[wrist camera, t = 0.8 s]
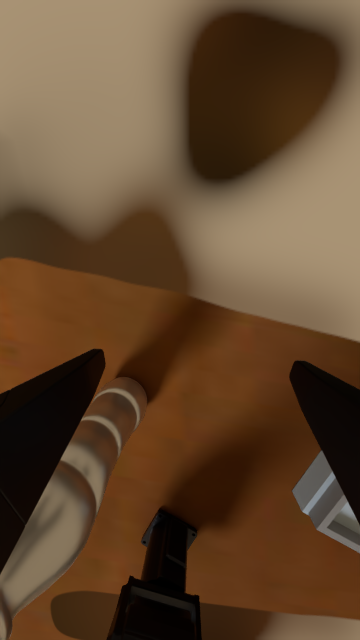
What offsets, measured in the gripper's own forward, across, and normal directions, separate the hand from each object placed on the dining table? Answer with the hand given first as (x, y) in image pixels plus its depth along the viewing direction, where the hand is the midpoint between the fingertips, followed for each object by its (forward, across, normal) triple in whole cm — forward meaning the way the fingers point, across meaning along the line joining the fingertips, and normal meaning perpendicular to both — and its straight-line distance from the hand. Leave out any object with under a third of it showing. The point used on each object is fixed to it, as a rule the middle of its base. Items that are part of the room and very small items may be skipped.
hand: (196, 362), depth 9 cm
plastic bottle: (+12, +8, +15) cm, 21 cm away
